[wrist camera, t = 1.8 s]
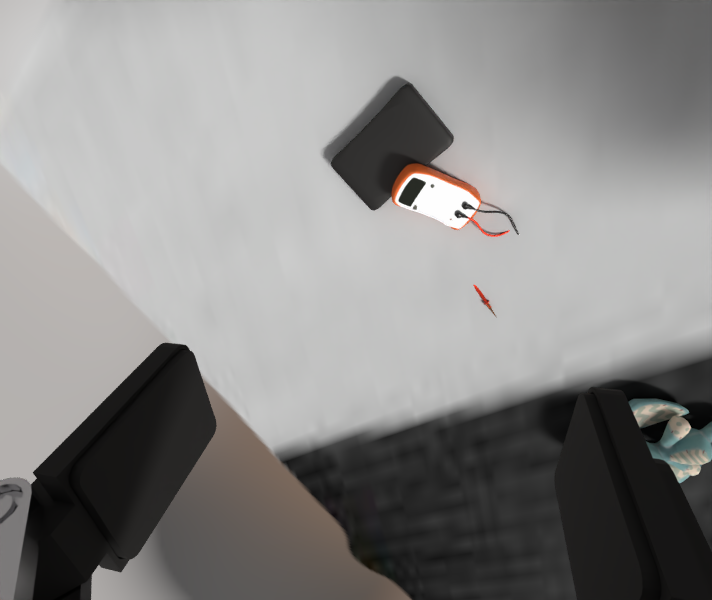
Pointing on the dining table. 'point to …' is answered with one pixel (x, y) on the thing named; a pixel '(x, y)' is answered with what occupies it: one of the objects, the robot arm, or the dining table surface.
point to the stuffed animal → (675, 436)
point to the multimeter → (408, 164)
